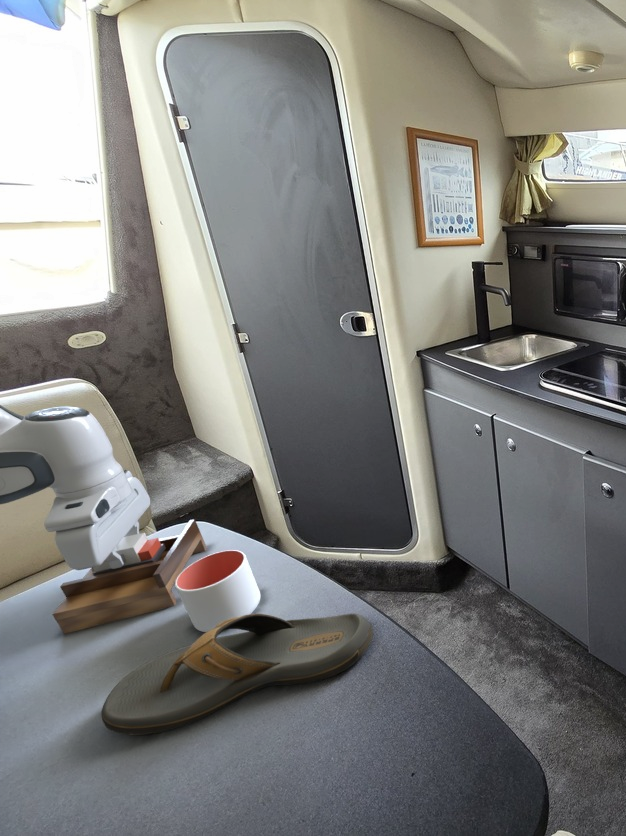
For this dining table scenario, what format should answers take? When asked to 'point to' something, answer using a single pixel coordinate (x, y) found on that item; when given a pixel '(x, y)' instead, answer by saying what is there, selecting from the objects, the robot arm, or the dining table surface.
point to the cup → (218, 589)
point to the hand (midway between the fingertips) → (127, 555)
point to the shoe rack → (128, 586)
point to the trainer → (134, 553)
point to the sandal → (233, 669)
